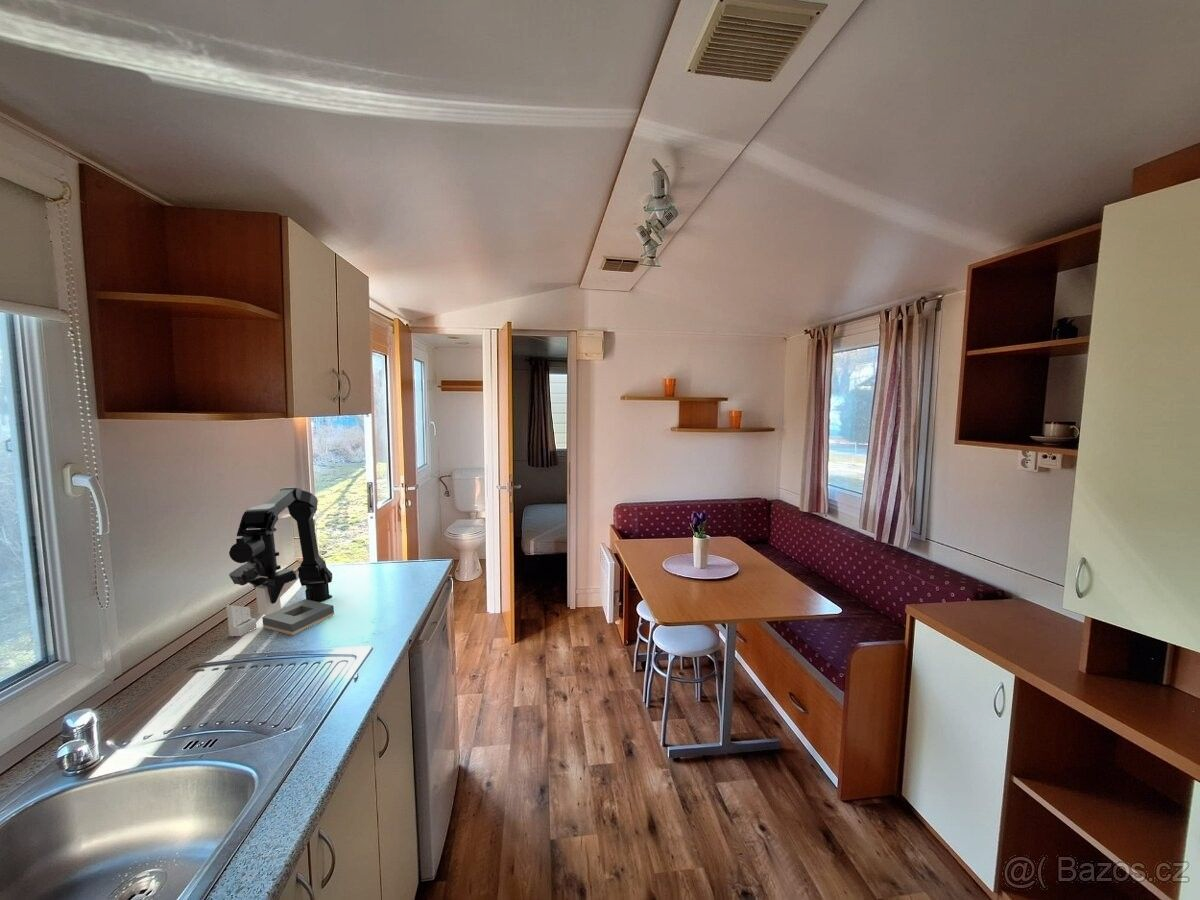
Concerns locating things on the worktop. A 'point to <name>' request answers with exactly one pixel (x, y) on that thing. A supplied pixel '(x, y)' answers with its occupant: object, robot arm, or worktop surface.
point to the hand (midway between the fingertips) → (268, 602)
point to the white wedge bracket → (239, 620)
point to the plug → (266, 601)
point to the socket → (298, 616)
